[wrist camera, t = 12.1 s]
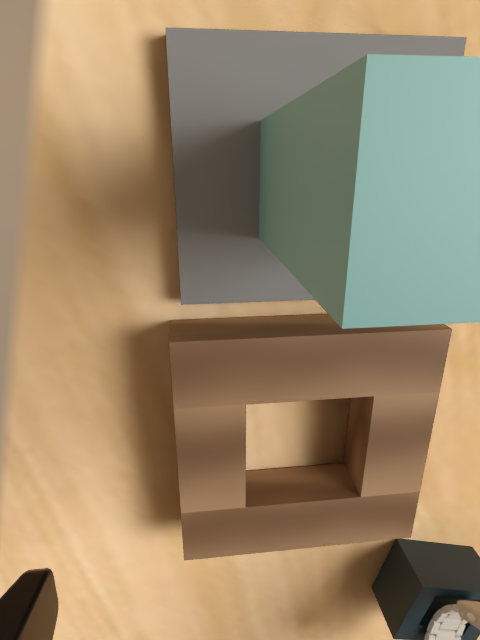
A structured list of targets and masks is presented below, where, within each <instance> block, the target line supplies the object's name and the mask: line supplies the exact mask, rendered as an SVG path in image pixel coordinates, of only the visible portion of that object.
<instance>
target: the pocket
mask: <svg viewBox="0 0 480 640" xmlns="http://www.w3.org/2000/svg"><path fill="white" fill-rule="evenodd" d="M451 332H452V329H451V328H449V327H448V326H446V325H445V324H432V325H411V326H390V327H368V328H347V329H342V328H341V327H340V326H339V325H338V324H337V323H336V322H335V321H334V319H333V318H332V317H331V316H330V315H329V314H308V315H284V316H260V317H236V318H212V319H187V320H172V321H171V329H170V338H169V351H170V365H171V379H172V394H173V408H174V422H175V436H176V451H177V465H178V479H179V493H180V508H181V522H182V536H183V550H184V560H193V559H203V558H213V557H222V556H232V555H242V554H252V553H262V552H272V551H281V550H291V549H301V548H311V547H321V546H330V545H340V544H350V543H360V542H370V541H379V540H389V539H399V538H409V537H411V534H412V529H413V524H414V518H415V513H416V508H417V503H418V498H419V493H420V488H421V483H422V478H423V473H424V468H425V463H426V458H427V453H428V448H429V443H430V438H431V433H432V428H433V423H434V418H435V412H436V407H437V402H438V397H439V392H440V387H441V382H442V377H443V372H444V367H445V362H446V357H447V352H448V347H449V342H450V337H451ZM339 398H351V399H350V408H349V417H348V426H347V436H346V445H345V454H344V463H338V464H325V465H313V466H300V467H288V468H276V469H263V470H251V471H246V404H261V403H277V402H292V401H308V400H324V399H339Z"/></svg>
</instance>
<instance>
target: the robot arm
mask: <svg viewBox="0 0 480 640" xmlns="http://www.w3.org/2000/svg"><path fill="white" fill-rule="evenodd" d="M57 615H58V597H57V592H56V587H55V581H54V576H53V572H52V571H51V569H48V568H45V569H33V570H28V571H26V572H25V573H23V574H22V575H21V576H20V577H19V578H18V580H17V581H16V582H15V583H14V584H13V585H12V586H11V587H10V588H9V589H8V590H7V592H6V593H5V594H4V595H3V596H2V597H1V598H0V640H53V635H54V630H55V625H56V620H57Z"/></svg>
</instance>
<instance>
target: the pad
mask: <svg viewBox="0 0 480 640" xmlns="http://www.w3.org/2000/svg"><path fill="white" fill-rule="evenodd" d="M466 38H467V37H444V36H413V35H381V34H350V33H319V32H287V31H256V30H225V29H193V28H166V45H167V63H168V80H169V98H170V116H171V133H172V151H173V169H174V187H175V204H176V222H177V240H178V258H179V275H180V293H181V305H183V304H209V303H236V302H262V301H289V300H315V299H314V298H313V296H312V295H311V294H310V293H309V292H308V291H307V290H306V289H305V288H304V287H303V286H302V284H301V283H300V282H299V281H298V280H297V279H296V278H295V277H294V276H293V275H292V274H291V272H290V271H289V270H288V269H287V268H286V267H285V266H284V265H283V264H282V263H281V262H280V260H279V259H278V258H277V257H276V256H275V255H274V254H273V253H272V252H271V251H270V250H269V248H268V247H267V246H266V245H265V244H264V243H263V242H262V241H261V240H260V239H259V204H260V125H261V120H262V119H263V118H265V117H267V116H268V115H270V114H271V113H273V112H275V111H276V110H278V109H280V108H281V107H283V106H284V105H286V104H288V103H289V102H291V101H292V100H294V99H296V98H297V97H299V96H301V95H302V94H304V93H305V92H307V91H309V90H310V89H312V88H313V87H315V86H317V85H318V84H320V83H322V82H323V81H325V80H326V79H328V78H330V77H331V76H333V75H334V74H336V73H338V72H339V71H341V70H343V69H344V68H346V67H347V66H349V65H351V64H352V63H354V62H355V61H357V60H359V59H360V58H362V57H364V56H365V55H367V54H382V55H423V56H464V50H465V44H466Z"/></svg>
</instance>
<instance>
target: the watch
mask: <svg viewBox="0 0 480 640" xmlns="http://www.w3.org/2000/svg"><path fill="white" fill-rule="evenodd" d="M372 590H373V592H374V594H375V597H376V599H377V601H378V604H379V606H380V608H381V611H382V613H383V615H384V618H385V620H386V622H387V625H388V627H389V629H390V632H391V634H392V636H393V639H405V640H477V638H478V637H479V635H480V557H479V556H478V554H477V553H476V551H475V550H474V549H473V547H468V546H460V545H451V544H442V543H433V542H424V541H415V540H406V539H396V541H395V543H394V544H393V546H392V548H391V550H390V552H389V554H388V556H387V558H386V560H385V562H384V564H383V566H382V568H381V570H380V572H379V574H378V576H377V578H376V580H375V582H374V584H373V586H372Z"/></svg>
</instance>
